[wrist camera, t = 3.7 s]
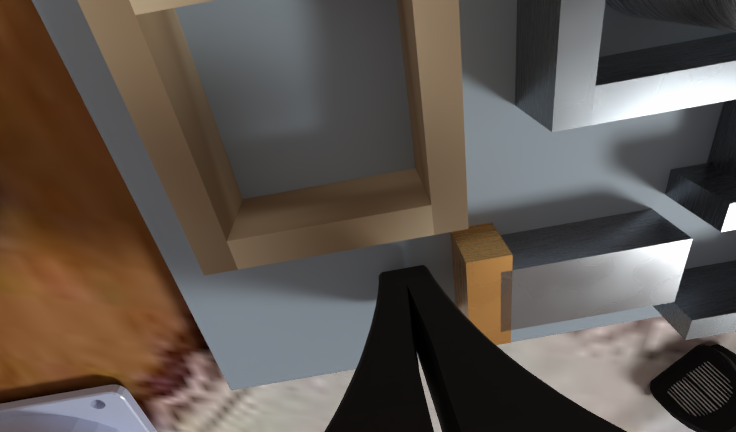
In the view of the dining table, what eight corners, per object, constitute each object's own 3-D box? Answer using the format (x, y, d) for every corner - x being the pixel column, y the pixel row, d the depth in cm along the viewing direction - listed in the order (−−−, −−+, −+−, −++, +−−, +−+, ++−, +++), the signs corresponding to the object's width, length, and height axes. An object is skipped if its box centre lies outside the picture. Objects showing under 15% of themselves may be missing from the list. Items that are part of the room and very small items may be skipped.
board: (236, 367, 16) (231, 390, 15) (-32, -193, 8) (-78, -214, 7) (745, 278, 15) (770, 297, 14) (1010, -396, 7) (1098, -444, 7)
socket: (510, 317, 14) (536, 365, 12) (522, -252, 7) (583, -323, 5) (779, 270, 14) (843, 313, 12) (1054, -354, 7) (1290, -460, 5)
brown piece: (223, 229, 11) (204, 275, 10) (118, -31, 8) (63, -31, 7) (447, 189, 11) (468, 228, 10) (427, -90, 8) (454, -105, 6)
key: (456, 311, 14) (470, 349, 12) (450, 229, 12) (465, 263, 11) (636, 280, 14) (670, 314, 12) (655, 193, 12) (697, 222, 11)
